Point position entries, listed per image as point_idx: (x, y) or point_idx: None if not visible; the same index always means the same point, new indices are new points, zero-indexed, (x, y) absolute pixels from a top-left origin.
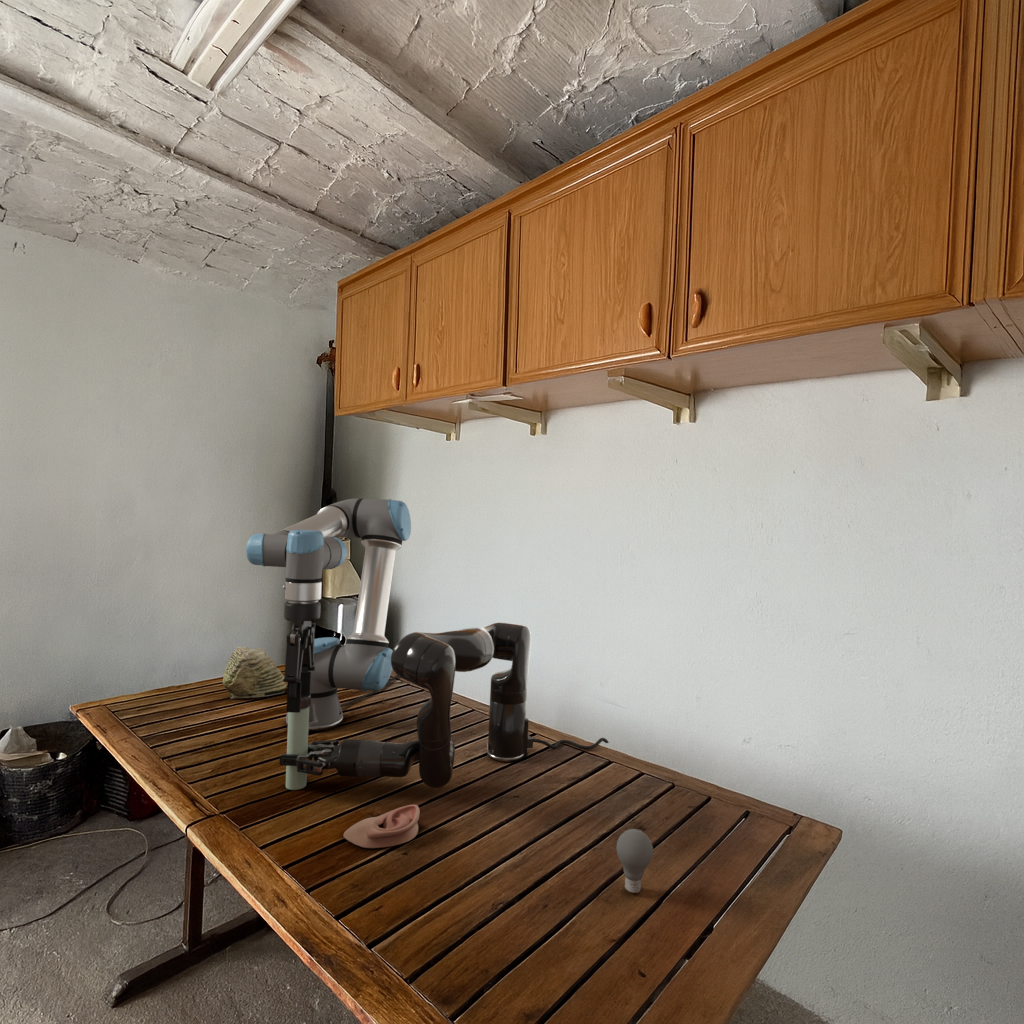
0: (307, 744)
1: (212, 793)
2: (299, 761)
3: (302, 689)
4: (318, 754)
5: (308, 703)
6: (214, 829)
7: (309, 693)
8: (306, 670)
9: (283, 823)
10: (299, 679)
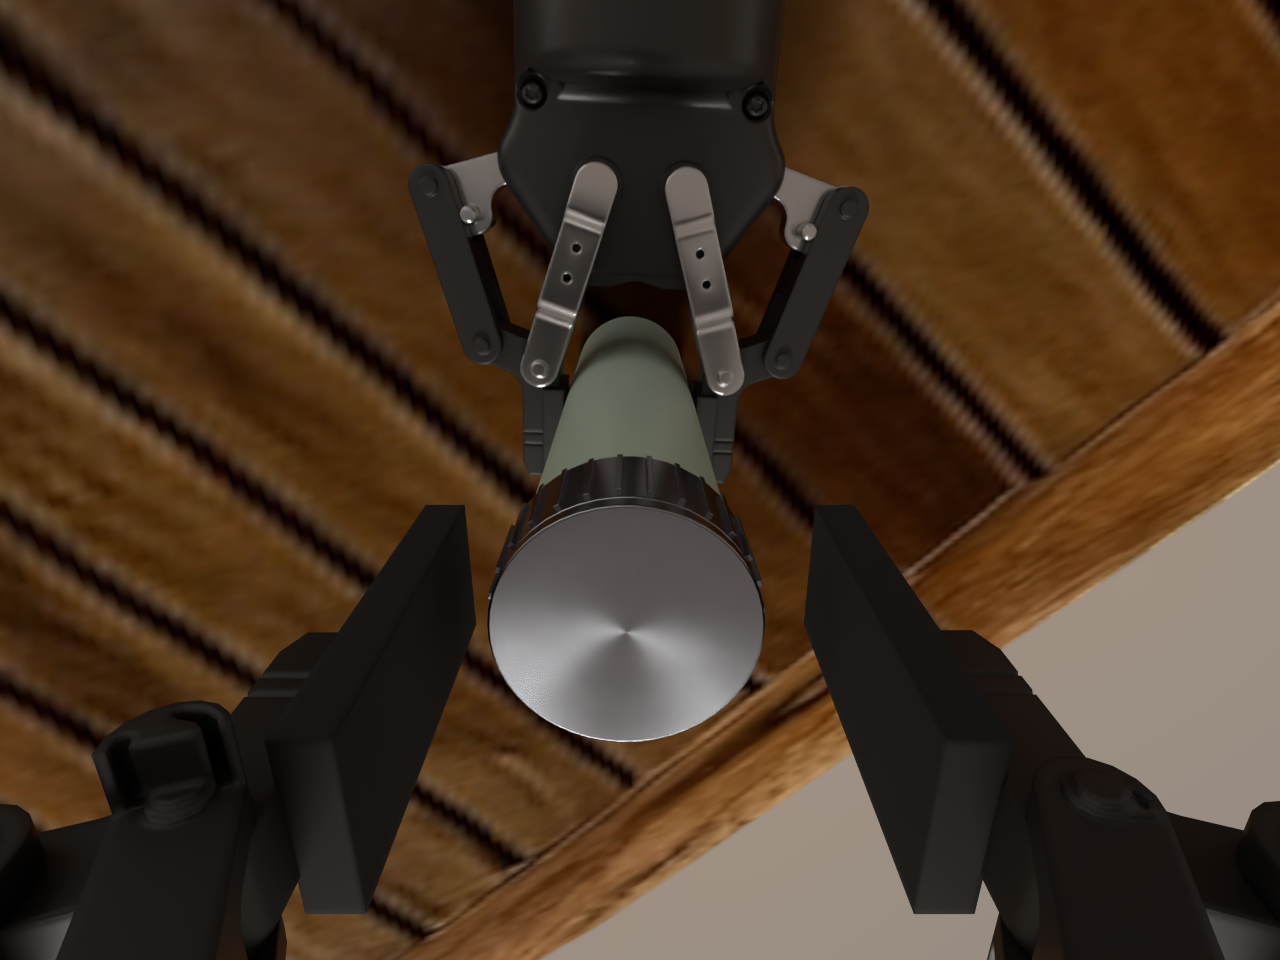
0: (632, 364)
1: None
2: (803, 358)
3: (434, 652)
4: (719, 254)
5: (679, 475)
6: (1023, 568)
7: (550, 534)
8: (277, 827)
9: (1016, 313)
10: (1124, 795)
